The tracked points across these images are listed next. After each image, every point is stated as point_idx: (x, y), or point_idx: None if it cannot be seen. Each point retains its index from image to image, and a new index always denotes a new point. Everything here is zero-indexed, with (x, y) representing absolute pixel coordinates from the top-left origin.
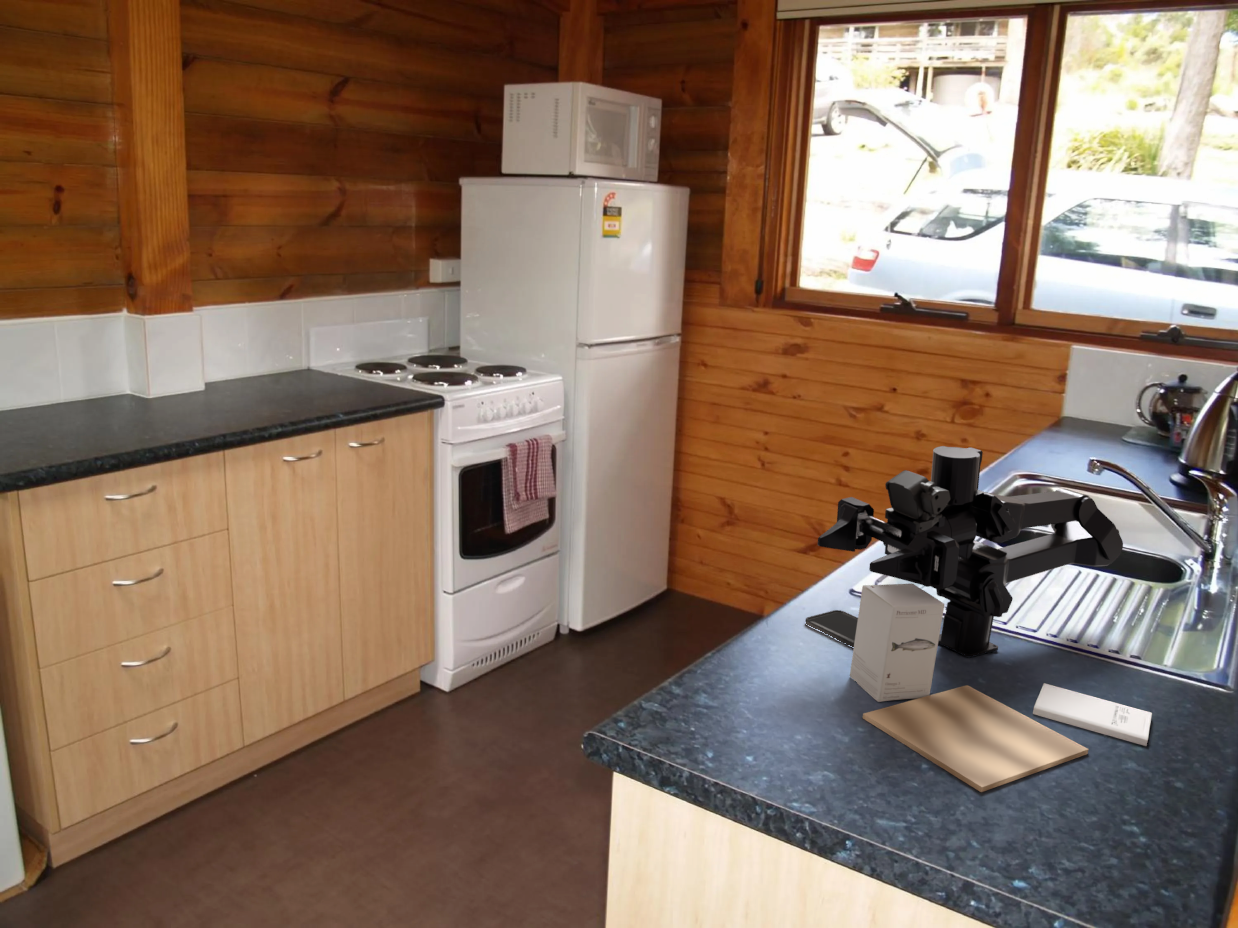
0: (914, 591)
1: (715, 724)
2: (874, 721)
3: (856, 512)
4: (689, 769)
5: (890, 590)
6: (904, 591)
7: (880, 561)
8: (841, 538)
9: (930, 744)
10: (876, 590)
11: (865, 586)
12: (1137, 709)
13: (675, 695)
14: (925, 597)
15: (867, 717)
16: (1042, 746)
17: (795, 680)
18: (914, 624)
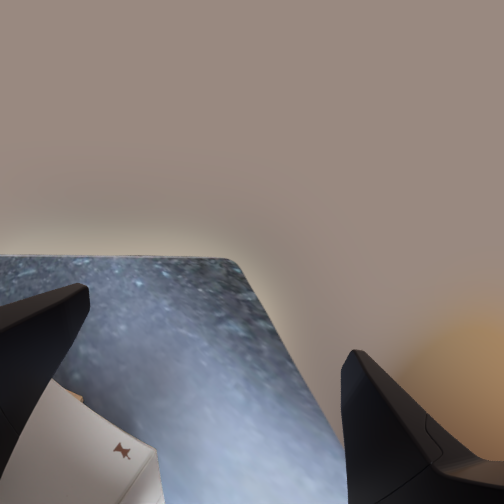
0: (12, 494)
1: (192, 303)
2: (65, 389)
3: (495, 496)
4: (163, 257)
5: (66, 457)
6: (32, 475)
7: (55, 289)
8: (372, 466)
9: None
10: (98, 429)
11: (143, 444)
12: None
13: (255, 317)
14: None
15: (75, 394)
16: None
17: (208, 433)
18: None
